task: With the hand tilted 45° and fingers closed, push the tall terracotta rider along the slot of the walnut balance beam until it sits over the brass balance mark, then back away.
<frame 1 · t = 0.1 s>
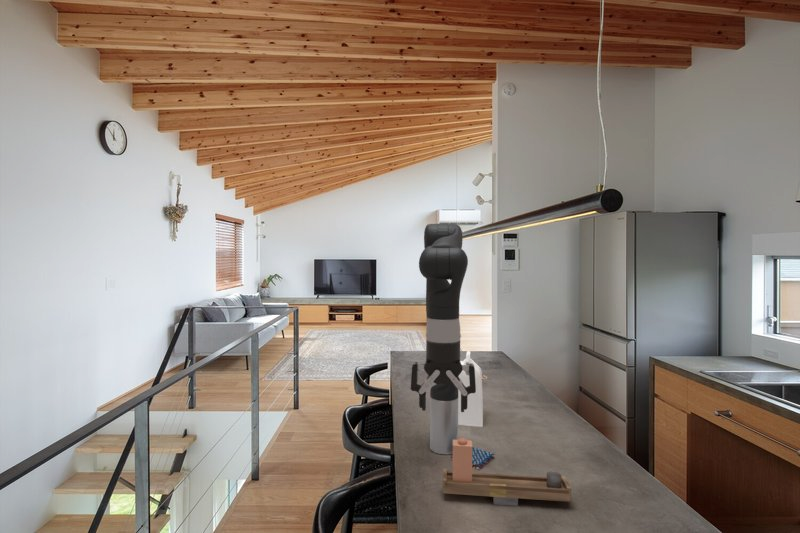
hand: (443, 410, 94), 29 cm above the kitchen island, tool pointing down, fingers open, 8 cm apart
woven mat: (472, 461, 133), on the kitchen island
rider: (462, 459, 112), point 10 cm above the kitchen island, slide at 0.0 cm
beam: (504, 498, 111), on the kitchen island
milk: (467, 420, 165), on the kitchen island
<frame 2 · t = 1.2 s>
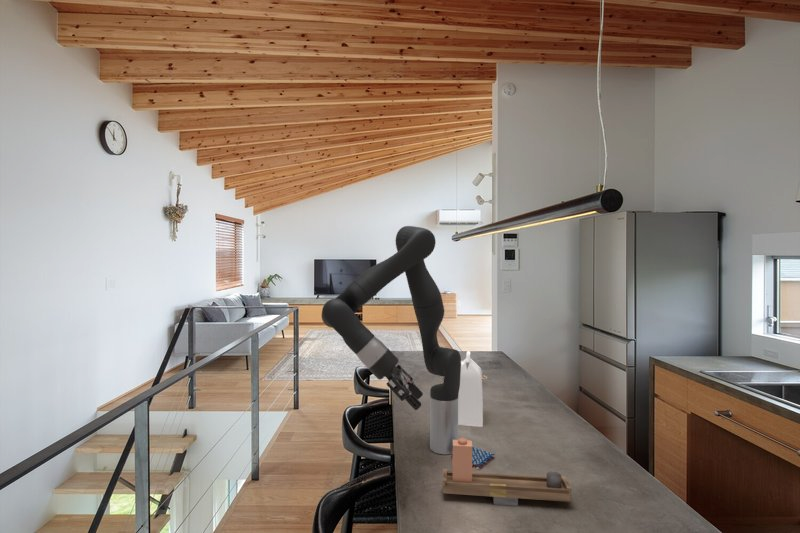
hand: (419, 401, 113), 25 cm above the kitchen island, tool tilted 45°, fingers open, 8 cm apart
nothing on the kitchen island moved.
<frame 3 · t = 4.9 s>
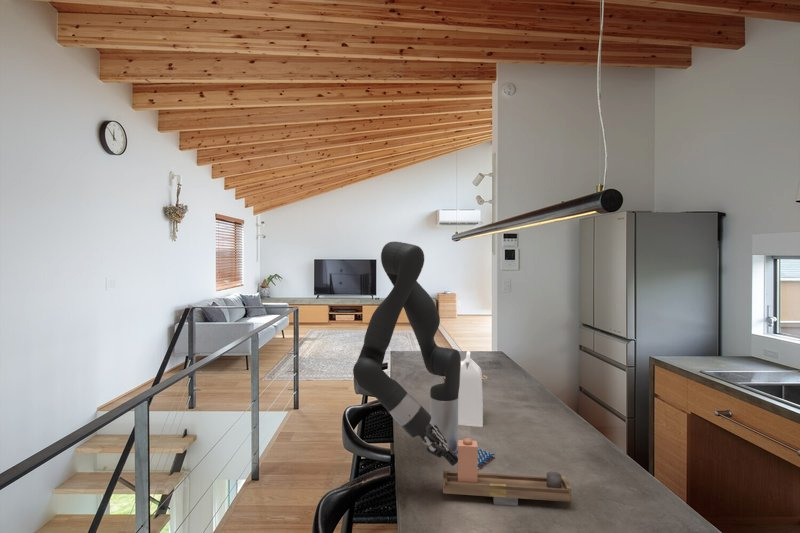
hand: (455, 462, 112), 9 cm above the kitchen island, tool tilted 45°, fingers closed
rider: (467, 460, 112), point 10 cm above the kitchen island, slide at 1.4 cm, touching gripper
everything else where it was.
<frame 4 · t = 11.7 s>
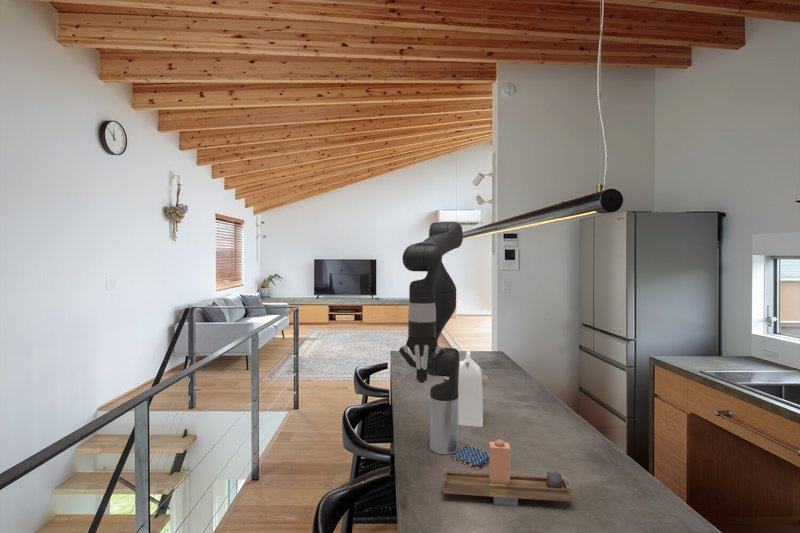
hand: (421, 382, 116), 29 cm above the kitchen island, tool pointing down, fingers closed
rider: (499, 461, 111), point 10 cm above the kitchen island, slide at 9.6 cm
everything else where it was.
at the end: rider slide at 9.6 cm; rider moved 9.6 cm from its start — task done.
